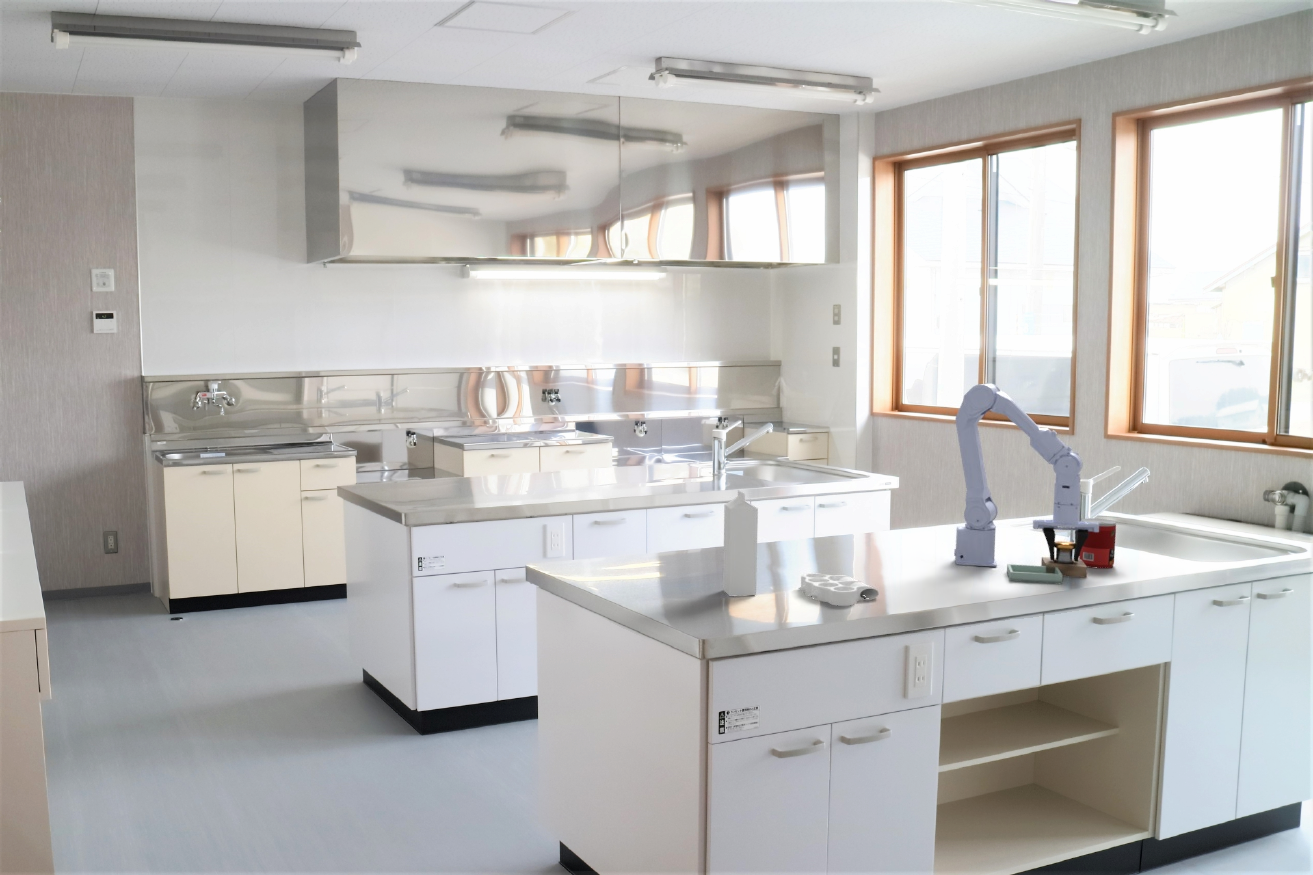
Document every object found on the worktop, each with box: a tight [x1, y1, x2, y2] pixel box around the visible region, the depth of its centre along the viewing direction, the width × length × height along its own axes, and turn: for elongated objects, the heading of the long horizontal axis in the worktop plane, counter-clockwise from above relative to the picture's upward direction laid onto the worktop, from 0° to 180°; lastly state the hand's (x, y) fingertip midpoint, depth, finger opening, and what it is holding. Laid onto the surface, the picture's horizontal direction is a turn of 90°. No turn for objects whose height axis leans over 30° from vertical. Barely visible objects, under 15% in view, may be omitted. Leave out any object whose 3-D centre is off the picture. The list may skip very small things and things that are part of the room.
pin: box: [1054, 540, 1076, 564], centre depth 257 cm, size 5×5×7 cm
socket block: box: [1040, 556, 1088, 579], centre depth 257 cm, size 9×9×2 cm
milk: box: [722, 489, 759, 596], centre depth 231 cm, size 6×6×22 cm
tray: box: [1006, 563, 1064, 585], centre depth 250 cm, size 11×9×2 cm
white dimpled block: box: [797, 572, 880, 607], centre depth 232 cm, size 3×18×15 cm
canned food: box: [1079, 518, 1117, 569], centre depth 265 cm, size 8×8×11 cm
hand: (1063, 560), depth 257 cm, fingers closed on pin, 5 cm apart
